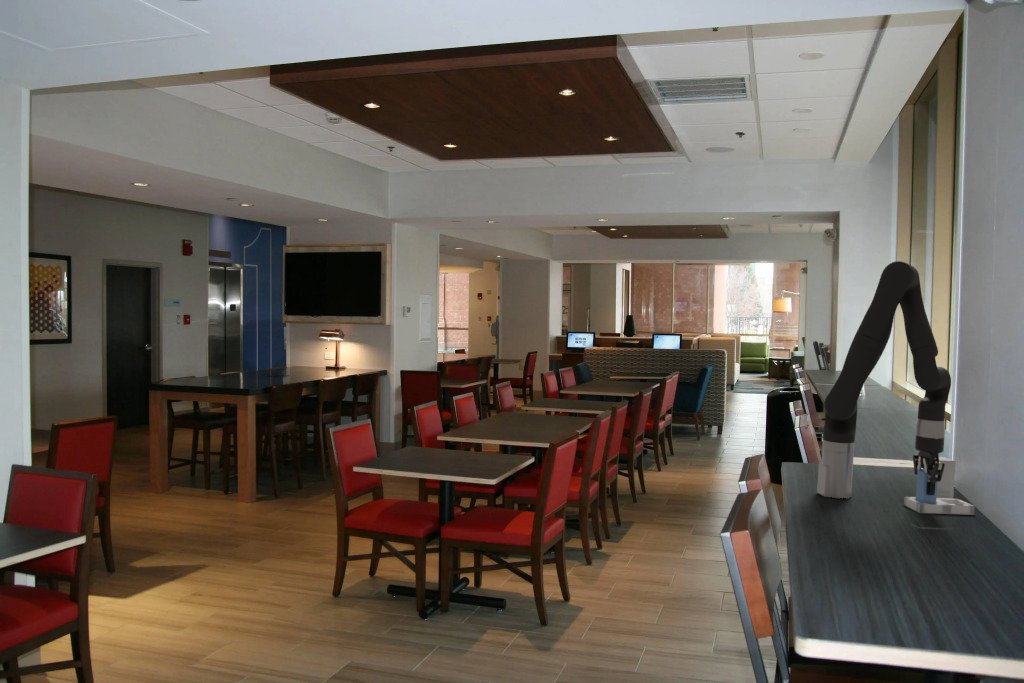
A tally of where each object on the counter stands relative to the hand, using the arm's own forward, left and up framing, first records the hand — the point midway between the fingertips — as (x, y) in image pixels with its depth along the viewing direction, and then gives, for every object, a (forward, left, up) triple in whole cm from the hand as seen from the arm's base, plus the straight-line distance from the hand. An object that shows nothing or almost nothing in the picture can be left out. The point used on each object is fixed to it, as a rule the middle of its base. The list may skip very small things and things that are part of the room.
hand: (926, 492), depth 246 cm
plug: (0, 0, -4) cm, 4 cm away
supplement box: (+13, +18, -6) cm, 23 cm away
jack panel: (+4, 0, -5) cm, 7 cm away
